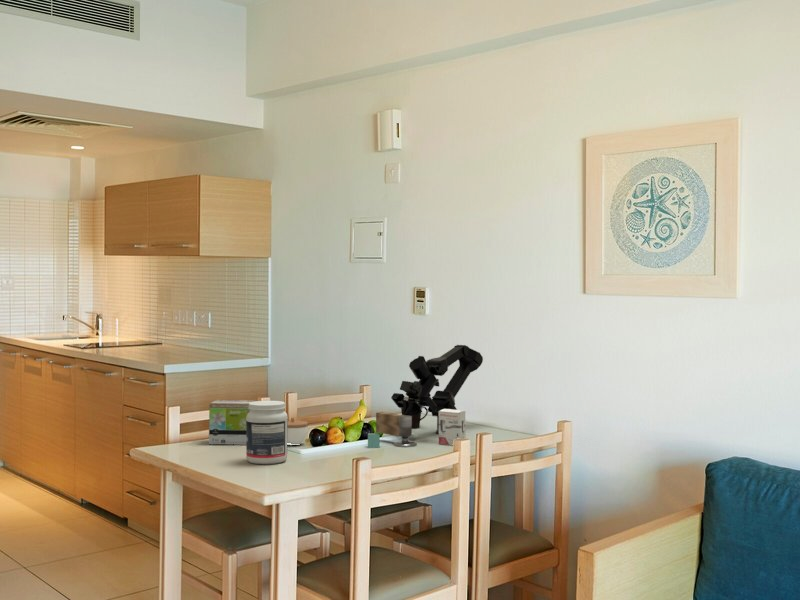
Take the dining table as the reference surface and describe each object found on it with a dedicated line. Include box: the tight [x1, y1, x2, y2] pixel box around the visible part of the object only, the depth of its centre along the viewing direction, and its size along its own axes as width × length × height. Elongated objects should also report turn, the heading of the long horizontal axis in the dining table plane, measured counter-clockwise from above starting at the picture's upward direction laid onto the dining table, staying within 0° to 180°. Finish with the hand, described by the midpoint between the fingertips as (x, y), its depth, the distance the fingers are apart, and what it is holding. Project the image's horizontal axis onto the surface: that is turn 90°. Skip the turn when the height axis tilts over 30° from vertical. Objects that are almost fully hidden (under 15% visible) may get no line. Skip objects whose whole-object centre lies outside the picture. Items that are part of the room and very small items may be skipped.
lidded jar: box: [287, 417, 309, 445], centre depth 301 cm, size 11×11×9 cm
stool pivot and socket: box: [367, 432, 418, 449], centre depth 300 cm, size 11×17×4 cm, turn 84°
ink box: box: [438, 409, 466, 446], centre depth 303 cm, size 9×5×12 cm, turn 62°
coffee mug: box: [400, 406, 429, 430], centre depth 338 cm, size 12×9×10 cm
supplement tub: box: [245, 400, 289, 465], centre depth 271 cm, size 13×13×18 cm
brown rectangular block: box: [375, 411, 413, 438], centre depth 304 cm, size 16×4×7 cm, turn 44°
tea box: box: [208, 399, 256, 446], centre depth 304 cm, size 15×10×15 cm, turn 92°
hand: (401, 420), depth 309 cm, fingers closed
